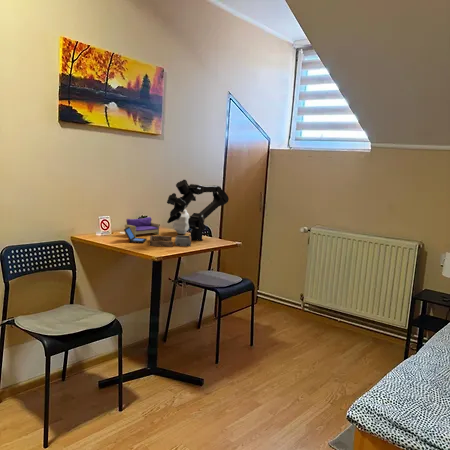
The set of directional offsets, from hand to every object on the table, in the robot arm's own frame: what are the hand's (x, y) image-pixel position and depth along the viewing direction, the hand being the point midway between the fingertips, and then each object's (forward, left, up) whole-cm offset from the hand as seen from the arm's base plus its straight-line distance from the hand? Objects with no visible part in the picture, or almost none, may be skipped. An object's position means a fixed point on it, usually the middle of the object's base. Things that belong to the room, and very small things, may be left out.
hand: (169, 219), depth 253 cm
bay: (+4, +2, -13) cm, 14 cm away
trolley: (-8, +2, -13) cm, 16 cm away
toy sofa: (+15, -23, -14) cm, 31 cm away
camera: (-9, -35, -13) cm, 38 cm away
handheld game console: (+18, -1, -14) cm, 23 cm away
